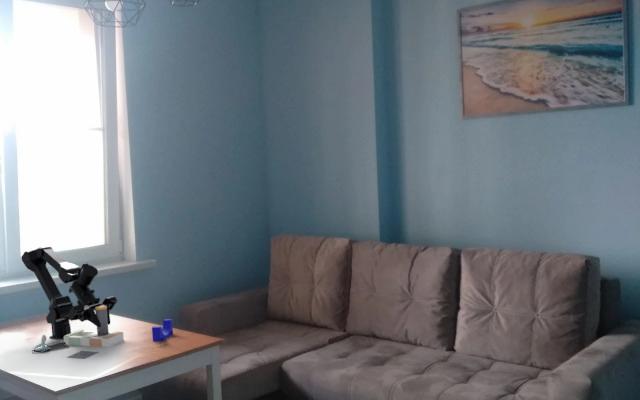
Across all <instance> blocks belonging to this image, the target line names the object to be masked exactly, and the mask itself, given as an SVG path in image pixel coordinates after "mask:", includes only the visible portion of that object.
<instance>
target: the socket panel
mask: <svg viewBox="0 0 640 400" xmlns="http://www.w3.org/2000/svg"><path fill="white" fill-rule="evenodd" d="M124 338H125V337H124V332H123V331H109V335H108V336H105V337H98V336H97V330H85V329H78V330H75V331H73V332H71V333H70V334H67V335H65V336H64V338H63V343H64V342H65V343H66V344H67V345H68V346H78V347H79V346H86V347H95V348H97V347H98V348H101V347H102V348H109V347H110V348H111V346H114V345H116V344H119V343H121V342H123V341H124ZM66 344H65V345H66ZM67 345H66V346H67Z"/></svg>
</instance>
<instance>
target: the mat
mask: <svg viewBox="0 0 640 400" xmlns="http://www.w3.org/2000/svg"><path fill="white" fill-rule="evenodd" d="M99 353H100V351H92V350H80V351H77V352H75V353H73V354H71V355H69V356H66V357H65V358H68V359H80V360H83V359H84V360H85V359H88V358H90V357H92V356H94V355H96V354H99Z"/></svg>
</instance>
